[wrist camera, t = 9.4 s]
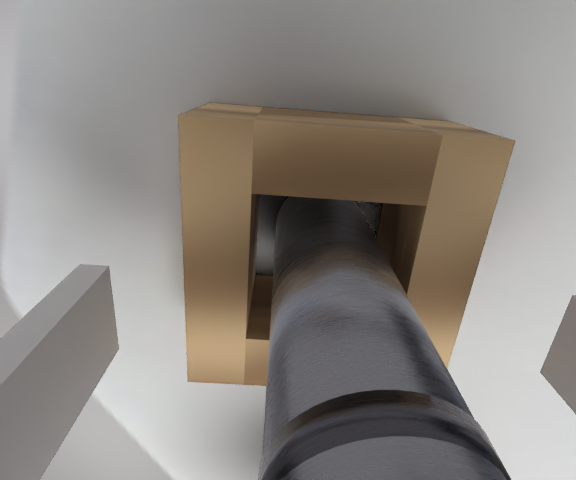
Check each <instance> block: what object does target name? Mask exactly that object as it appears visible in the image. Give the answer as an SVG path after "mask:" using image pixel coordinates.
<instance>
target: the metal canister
mask: <svg viewBox="0 0 576 480" xmlns="http://www.w3.org/2000/svg"><path fill="white" fill-rule="evenodd" d="M258 480H511V478H510V477H509V475H508V473H507V471H506V469H505V468H504V466H503V464H502V462H501V460H500V458H499V457H498V455H497V453H496V451H495V449H494V448H493V446H492V444H491V442H490V440H489V439H488V437H487V435H486V433H485V432H484V430H483V429H482V428H481V426H480V425H479V424H478V422H476V421H475V420H474V418H473V416H472V414H471V412H470V410H469V408H468V407H467V405H466V403H465V401H464V399H463V397H462V396H461V394H460V392H459V390H458V388H457V386H456V385H455V383H454V381H453V379H452V377H451V375H450V374H449V372H448V370H447V368H446V366H445V364H444V363H443V361H442V359H441V357H440V355H439V353H438V352H437V350H436V348H435V346H434V344H433V342H432V341H431V339H430V337H429V335H428V333H427V331H426V330H425V328H424V326H423V324H422V322H421V320H420V319H419V317H418V315H417V313H416V311H415V309H414V307H413V306H412V304H411V302H410V300H409V298H408V296H407V295H406V293H405V291H404V289H403V287H402V285H401V284H400V282H399V280H398V278H397V276H396V274H395V273H394V271H393V269H392V267H391V265H390V263H389V262H388V260H387V258H386V256H385V254H384V252H383V251H382V249H381V247H380V245H379V243H378V241H377V240H376V238H375V236H374V234H373V232H372V230H371V229H370V227H369V225H368V223H367V221H366V219H365V217H364V216H363V214H362V212H361V210H360V208H359V206H358V205H357V203H356V202H355V201H350V200H335V199H321V198H307V197H292V196H290V197H289V198H287V200H286V201H285V202H284V203H283V205H282V207H281V208H280V211H279V213H278V216H277V222H276V237H275V254H274V271H273V288H272V304H271V321H270V338H269V355H268V372H267V389H266V406H265V423H264V440H263V457H262V460H261V463H260V468H259V476H258Z"/></svg>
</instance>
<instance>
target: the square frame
mask: <svg viewBox="0 0 576 480" xmlns="http://www.w3.org/2000/svg"><path fill="white" fill-rule="evenodd" d="M178 126H179V154H180V181H181V209H182V237H183V264H184V292H185V320H186V347H187V375H188V382H204V383H223V384H242V385H261V386H267V372H268V355H269V338H270V321H271V304H272V288H273V276H270V275H255V273H256V251H257V230H258V208H259V194H264V195H278V196H292V197H307V198H321V199H335V200H350V201H364V202H378V203H383V205H382V211H381V216H380V222H379V228H378V233H377V239H376V240H377V241H378V243H379V245H380V247H381V249H382V251H383V252H384V254H385V256H386V258H387V260H388V262H389V263H390V265H391V267H392V269H393V271H394V273H395V274H396V276H397V278H398V280H399V282H400V284H401V285H402V287H403V289H404V291H405V293H406V295H407V296H408V298H409V300H410V302H411V304H412V306H413V307H414V309H415V311H416V313H417V315H418V317H419V319H420V320H421V322H422V324H423V326H424V328H425V330H426V331H427V333H428V335H429V337H430V339H431V341H432V342H433V344H434V346H435V348H436V350H437V352H438V353H439V355H440V357H441V359H442V361H443V363H444V364H445V366H446V368H447V367H448V364H449V361H450V357H451V354H452V351H453V347H454V344H455V341H456V337H457V334H458V331H459V327H460V324H461V321H462V317H463V314H464V311H465V307H466V304H467V301H468V297H469V294H470V291H471V287H472V284H473V281H474V277H475V274H476V271H477V267H478V264H479V261H480V257H481V254H482V251H483V247H484V244H485V240H486V237H487V234H488V230H489V227H490V224H491V220H492V217H493V214H494V210H495V207H496V204H497V200H498V197H499V194H500V190H501V187H502V184H503V180H504V177H505V174H506V170H507V167H508V164H509V160H510V157H511V154H512V150H513V147H514V144H515V141H514V140H511V139H507V138H504V137H501V136H497V135H494V134H491V133H487V132H484V131H481V130H477V129H474V128H471V127H467V126H464V125H461V124H457V123H454V122H451V121H439V120H426V119H413V118H400V117H387V116H374V115H361V114H348V113H335V112H322V111H310V110H297V109H284V108H271V107H258V106H245V105H232V104H219V103H207V104H205V105H202V106H200V107H197V108H195V109H192V110H190V111H187V112H185V113H183V114H180V115H178Z"/></svg>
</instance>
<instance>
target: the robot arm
mask: <svg viewBox="0 0 576 480" xmlns="http://www.w3.org/2000/svg"><path fill="white" fill-rule="evenodd" d="M118 349H119V345H118V337H117V329H116V320H115V312H114V304H113V296H112V287H111V279H110V271H109V266H99V265H83V264H80V265H79V266H78V267H77V268H76V269H74V270H73V271H72V272H71V273H70V274H69V275H68V276H67V277H66V278H65V279H64V280H63V281H62V282H61V283H60V284H58V285H57V286H56V287H55V288H54V289H53V290H52V291H51V292H50V293H49V294H48V295H47V296H46V297H45V298H43V299H42V300H41V301H40V302H39V303H38V304H37V305H36V306H35V307H34V308H33V309H32V310H31V311H30V312H28V313H27V314H26V315H25V316H24V317H23V318H22V319H21V320H20V321H19V322H18V323H17V324H16V325H15V326H14V327H12V329H10V330H9V331H8V332H7V333H6V334H5V335H4V336H3V337H2V338H1V339H0V480H40V479H41V477H42V475H43V474H44V472H45V470H46V469H47V467H48V465H49V464H50V462H51V460H52V459H53V457H54V455H55V454H56V452H57V451H58V449H59V447H60V445H61V444H62V442H63V441H64V439H65V437H66V436H67V434H68V432H69V431H70V429H71V427H72V426H73V424H74V422H75V421H76V419H77V417H78V416H79V414H80V412H81V411H82V409H83V407H84V406H85V404H86V402H87V401H88V399H89V397H90V396H91V394H92V393H93V391H94V389H95V388H96V386H97V384H98V383H99V381H100V379H101V378H102V376H103V374H104V373H105V371H106V369H107V368H108V366H109V364H110V363H111V361H112V359H113V358H114V356H115V354H116V353H117V351H118ZM540 373H541V374H542V375H543V376H544V377H545V378H546V380H547V381H548V382H549V383H550V384H551V386H552V387H553V388H554V389H555V390H556V391H557V393H558V394H559V395H560V396H561V397H562V399H563V400H564V401H565V402H566V403H567V404H568V406H569V407H570V408H571V409H572V410H573V411H574V413H575V414H576V295H572V298H571V300H570V302H569V305H568V307H567V309H566V312H565V314H564V317H563V319H562V321H561V324H560V326H559V328H558V331H557V333H556V336H555V338H554V340H553V343H552V345H551V347H550V350H549V352H548V355H547V357H546V359H545V362H544V364H543V366H542V369H541V371H540Z"/></svg>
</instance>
